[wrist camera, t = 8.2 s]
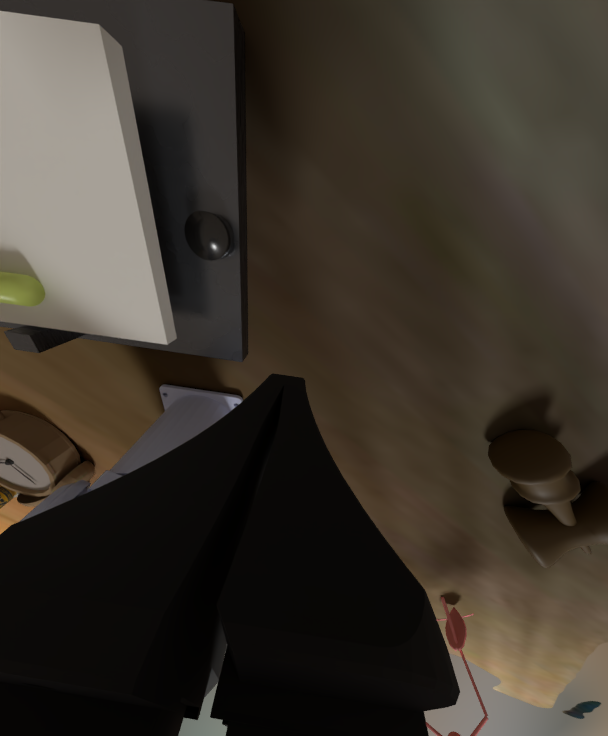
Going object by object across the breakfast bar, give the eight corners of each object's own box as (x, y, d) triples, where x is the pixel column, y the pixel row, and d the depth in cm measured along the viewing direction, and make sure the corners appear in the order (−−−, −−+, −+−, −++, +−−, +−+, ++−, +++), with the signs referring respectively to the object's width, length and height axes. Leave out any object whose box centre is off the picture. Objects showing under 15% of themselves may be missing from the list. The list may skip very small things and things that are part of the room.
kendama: (560, 401, 20) (616, 513, 26) (449, 444, 24) (520, 531, 30) (640, 460, 14) (686, 582, 20) (481, 501, 18) (559, 593, 24)
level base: (244, 32, 10) (176, -139, 6) (248, 353, 19) (222, 391, 14) (-263, -31, 11) (-726, -244, 6) (-34, 312, 19) (-150, 336, 15)
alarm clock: (-17, 411, 22) (83, 518, 26) (45, 389, 26) (122, 483, 30) (-67, 438, 25) (29, 530, 29) (-4, 414, 30) (72, 496, 33)
